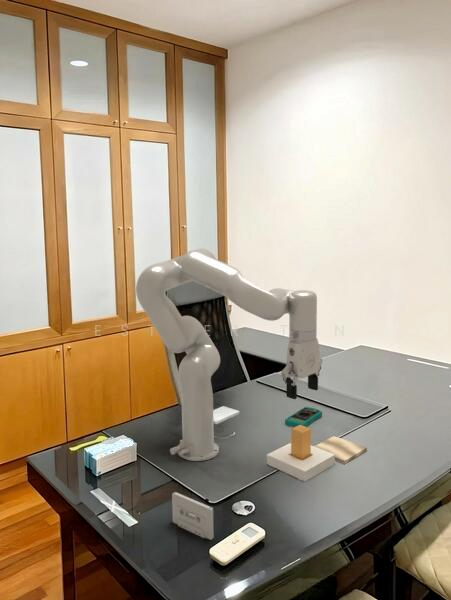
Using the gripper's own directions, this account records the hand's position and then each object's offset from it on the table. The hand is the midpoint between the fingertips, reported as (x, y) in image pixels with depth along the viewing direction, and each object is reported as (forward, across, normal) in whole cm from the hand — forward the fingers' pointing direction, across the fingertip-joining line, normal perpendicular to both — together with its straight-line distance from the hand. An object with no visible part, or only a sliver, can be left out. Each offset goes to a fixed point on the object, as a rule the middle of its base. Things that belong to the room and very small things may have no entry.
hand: (302, 393), depth 151 cm
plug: (+22, 0, 0) cm, 22 cm away
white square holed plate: (+22, 0, 0) cm, 22 cm away
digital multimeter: (+22, +26, +19) cm, 39 cm away
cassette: (+22, -43, -2) cm, 48 cm away
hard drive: (+22, +8, +43) cm, 49 cm away
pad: (+22, +15, -3) cm, 26 cm away
